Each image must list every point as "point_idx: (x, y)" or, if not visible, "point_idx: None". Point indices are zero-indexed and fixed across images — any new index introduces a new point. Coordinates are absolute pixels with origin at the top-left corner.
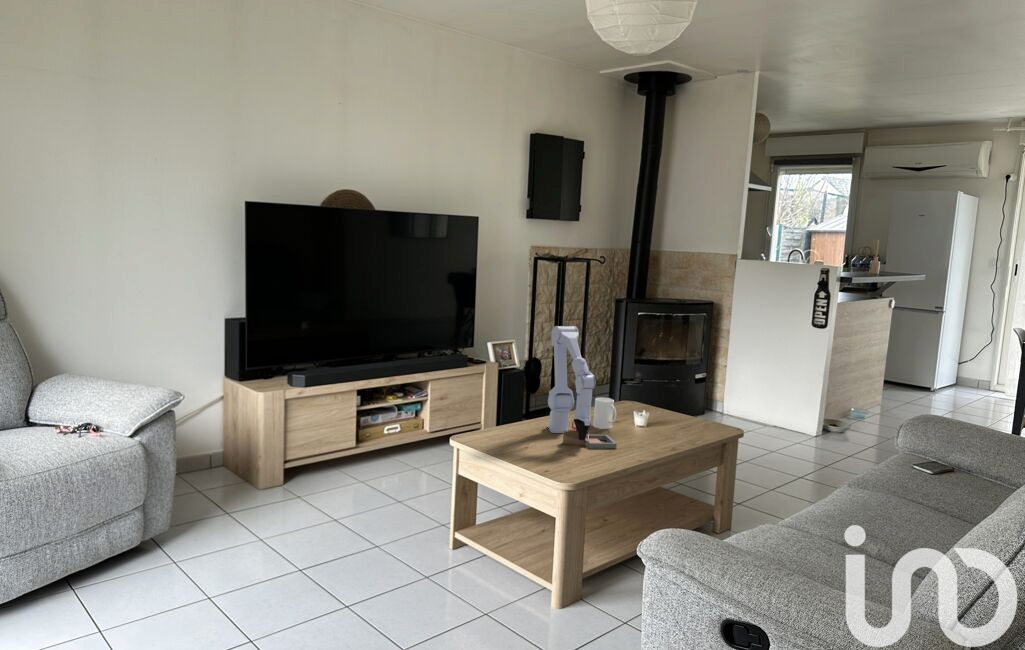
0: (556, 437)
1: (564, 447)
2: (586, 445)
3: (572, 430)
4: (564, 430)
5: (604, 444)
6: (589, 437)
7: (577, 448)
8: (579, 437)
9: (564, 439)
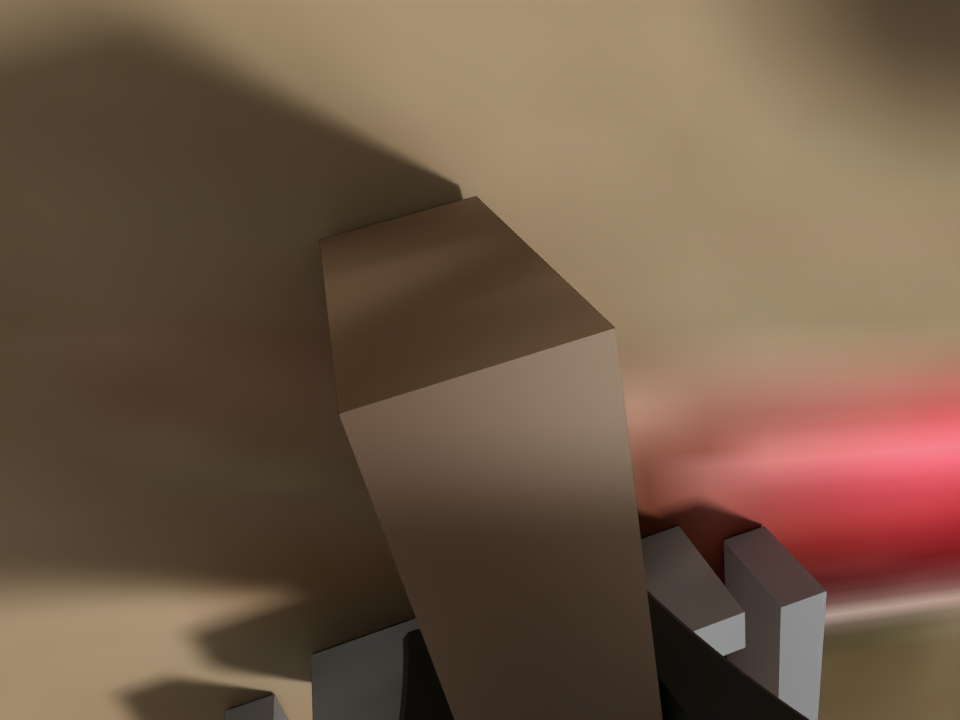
0: (900, 41)
1: (45, 241)
2: (312, 682)
3: (627, 609)
4: (545, 355)
5: None
6: (753, 678)
7: (117, 534)
8: (407, 674)
9: (358, 269)
